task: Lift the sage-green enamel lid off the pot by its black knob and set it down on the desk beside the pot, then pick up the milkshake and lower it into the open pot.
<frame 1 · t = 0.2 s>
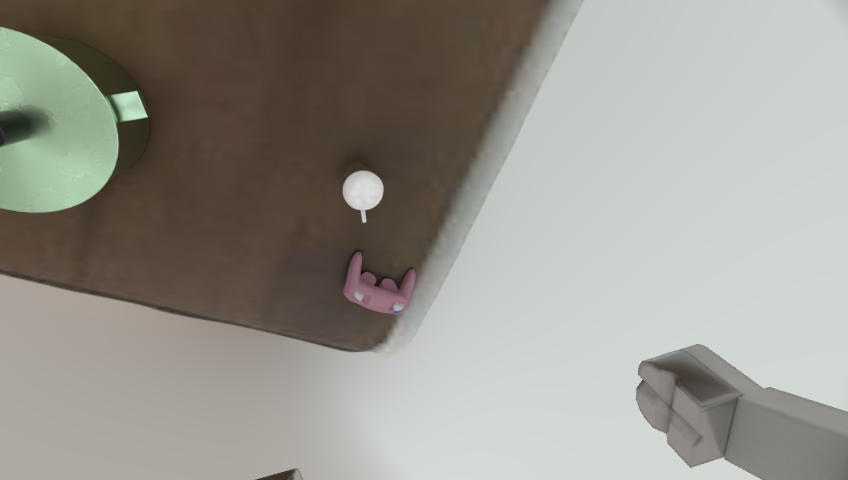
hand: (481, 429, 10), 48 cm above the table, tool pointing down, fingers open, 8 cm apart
video game controller: (378, 275, 61), on the table
pot: (72, 112, 45), on the table
milkshake: (356, 176, 55), on the table
lid: (16, 125, 37), point 9 cm above the table, touching pot
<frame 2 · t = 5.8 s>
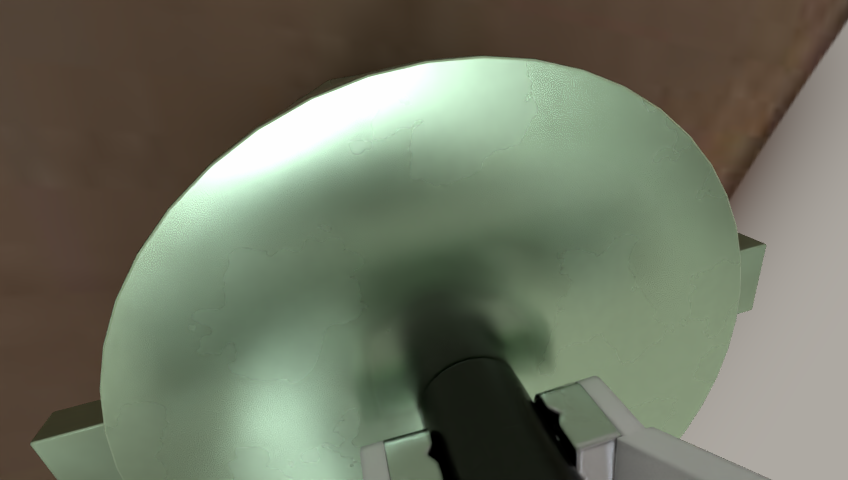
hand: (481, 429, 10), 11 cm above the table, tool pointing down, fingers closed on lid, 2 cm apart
pot: (397, 241, 19), on the table
lid: (462, 382, 11), point 10 cm above the table, touching gripper, pot
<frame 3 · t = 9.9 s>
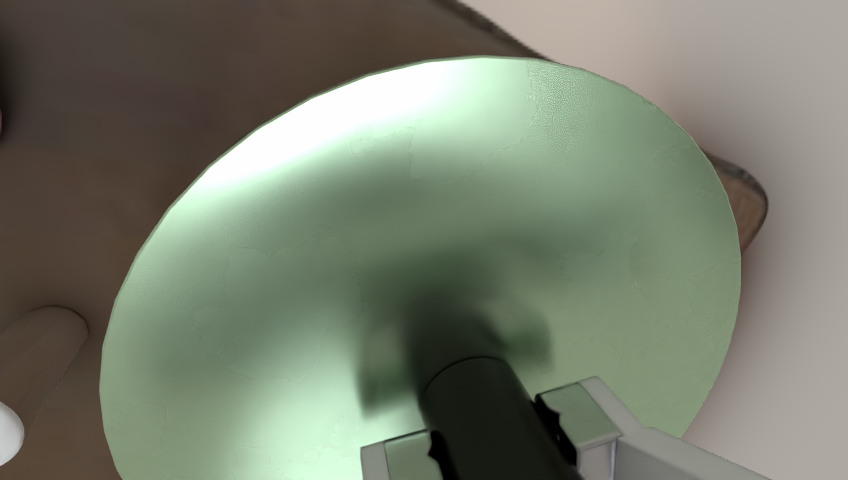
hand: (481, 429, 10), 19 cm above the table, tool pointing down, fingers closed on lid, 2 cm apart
milkshake: (57, 321, 25), on the table
lid: (462, 382, 11), point 18 cm above the table, touching gripper
when the fingers open (2 cm above the table, at t = 13.8 s): lid stays where it is, point 1 cm above the table.
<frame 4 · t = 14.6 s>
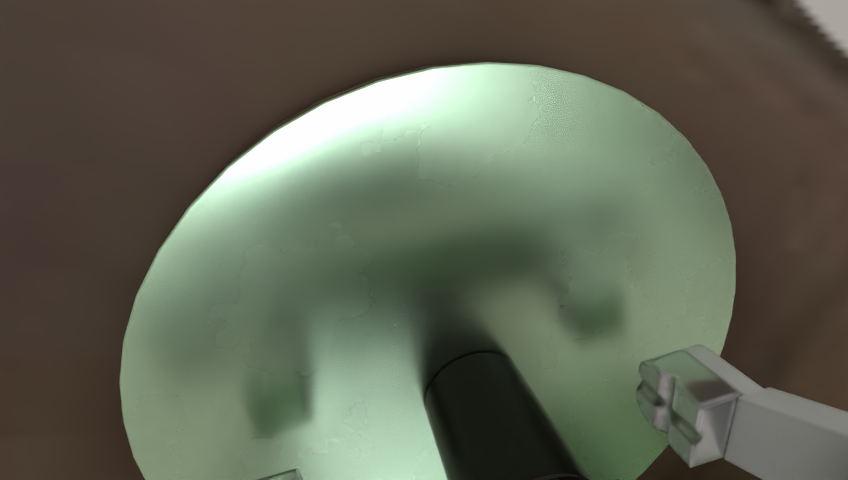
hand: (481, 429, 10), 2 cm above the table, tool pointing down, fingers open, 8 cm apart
lid: (465, 377, 11), point 1 cm above the table
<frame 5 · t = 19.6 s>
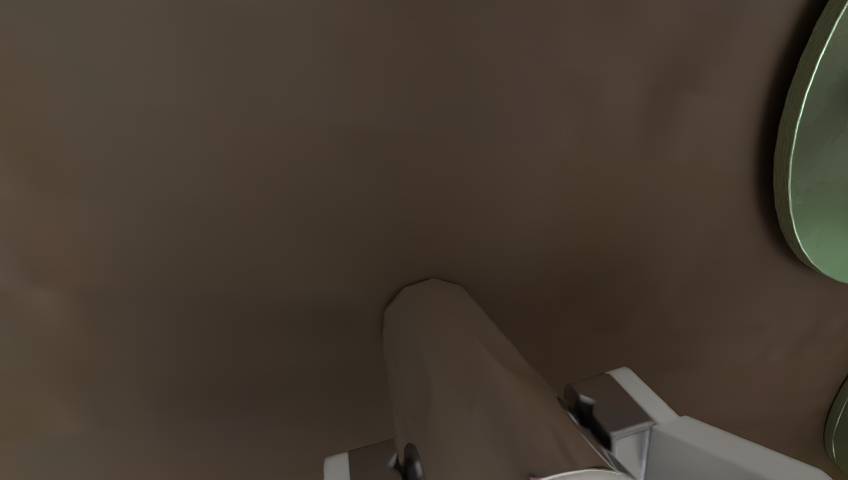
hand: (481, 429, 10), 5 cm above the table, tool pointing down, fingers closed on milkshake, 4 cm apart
milkshake: (427, 306, 14), on the table, touching gripper
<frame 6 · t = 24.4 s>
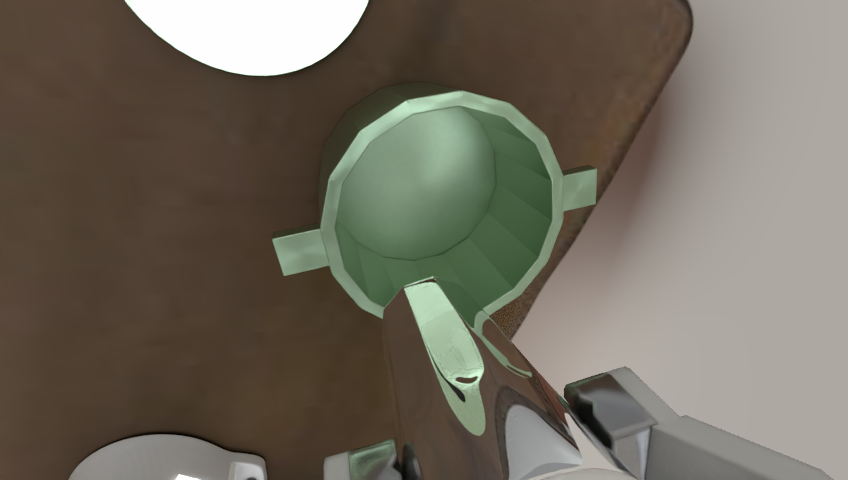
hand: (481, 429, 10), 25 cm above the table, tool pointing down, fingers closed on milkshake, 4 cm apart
pot: (415, 181, 33), on the table
milkshake: (427, 304, 14), point 20 cm above the table, touching gripper
when the fingers open (6 cm above the table, at t = 30.0 s): milkshake stays where it is, resting on pot.
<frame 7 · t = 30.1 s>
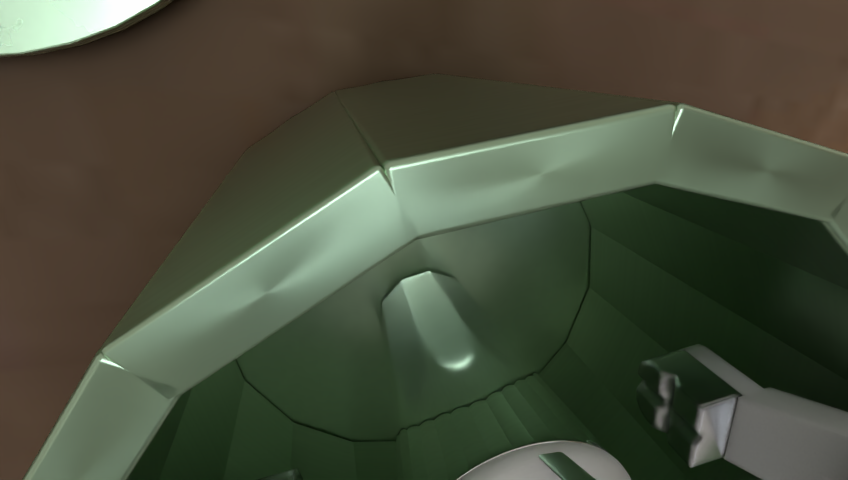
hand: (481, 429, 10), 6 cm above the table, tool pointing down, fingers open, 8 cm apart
pot: (419, 293, 15), on the table
milkshake: (424, 298, 15), resting on pot
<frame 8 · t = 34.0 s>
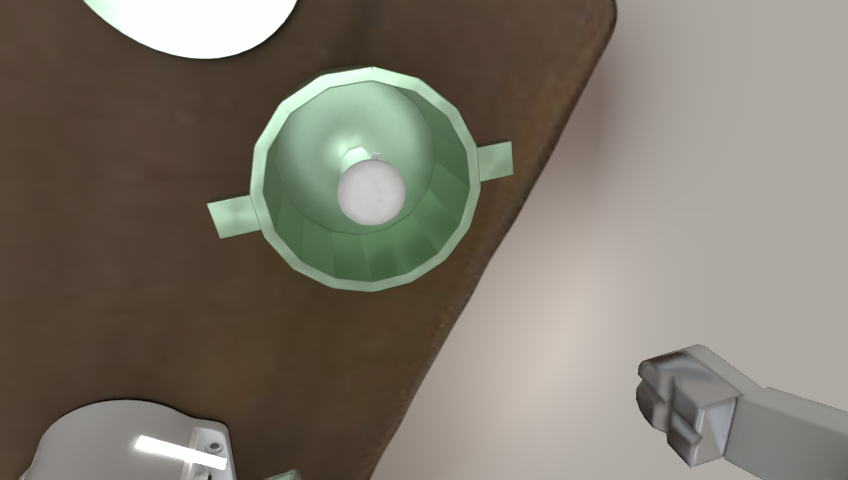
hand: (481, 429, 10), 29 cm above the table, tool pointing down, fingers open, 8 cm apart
pot: (358, 159, 36), on the table
milkshake: (359, 160, 35), resting on pot
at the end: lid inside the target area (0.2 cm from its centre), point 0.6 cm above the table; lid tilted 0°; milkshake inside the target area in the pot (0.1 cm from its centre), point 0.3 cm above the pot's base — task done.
